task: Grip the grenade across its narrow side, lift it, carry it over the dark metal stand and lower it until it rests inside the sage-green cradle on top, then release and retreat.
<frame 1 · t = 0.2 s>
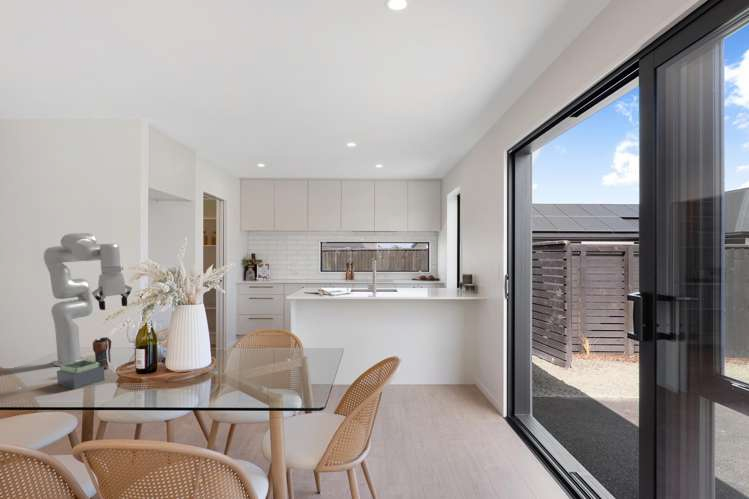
hand: (113, 307, 193), 30 cm above the table, tool pointing down, fingers open, 9 cm apart
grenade: (103, 369, 202), on the table
stand: (81, 382, 183), on the table
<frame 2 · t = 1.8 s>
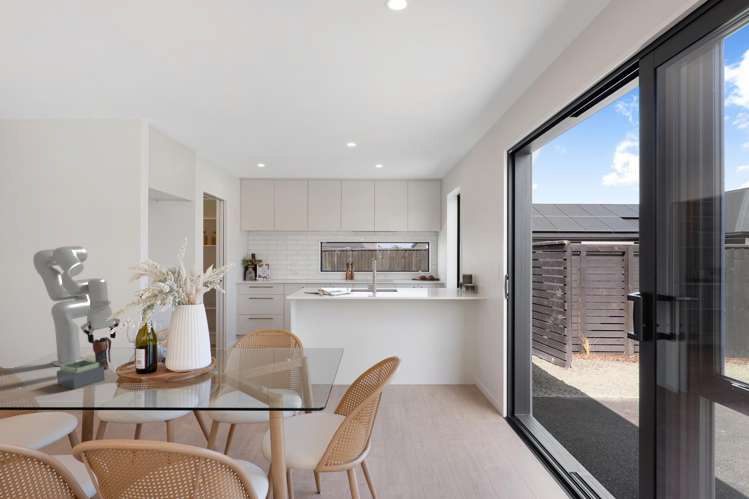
hand: (102, 340, 201), 14 cm above the table, tool pointing down, fingers open, 9 cm apart
nothing on the table moved.
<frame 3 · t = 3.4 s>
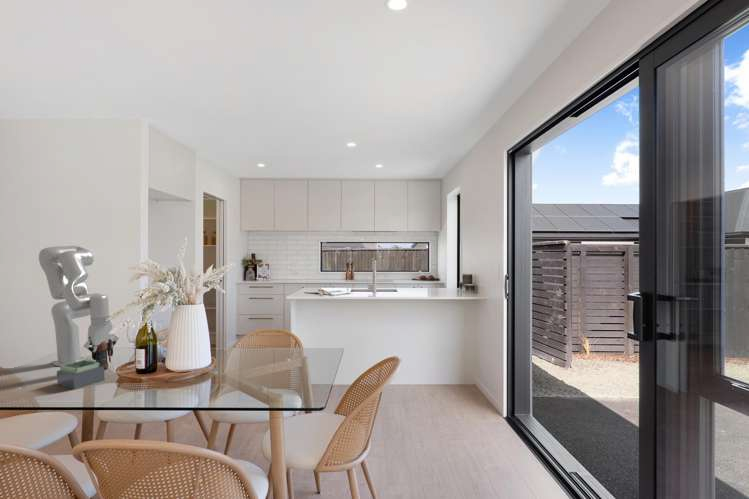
hand: (102, 357, 201), 6 cm above the table, tool pointing down, fingers closed on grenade, 6 cm apart
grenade: (103, 369, 202), on the table, touching gripper
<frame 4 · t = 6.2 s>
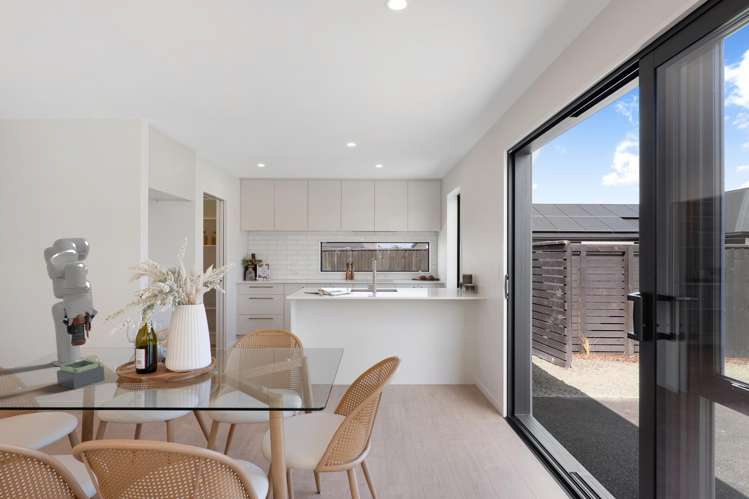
hand: (79, 332, 183), 22 cm above the table, tool pointing down, fingers closed on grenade, 6 cm apart
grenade: (80, 345, 184), point 16 cm above the table, touching gripper
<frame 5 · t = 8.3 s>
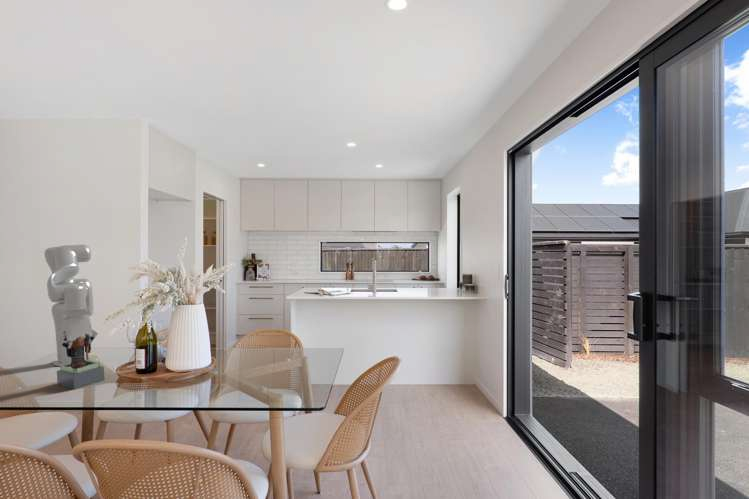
hand: (79, 354, 183), 12 cm above the table, tool pointing down, fingers closed on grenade, 6 cm apart
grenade: (80, 367, 183), point 7 cm above the table, touching gripper
when the fingers open (12 cm above the table, at t = 8.9 s): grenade stays where it is, resting on stand.
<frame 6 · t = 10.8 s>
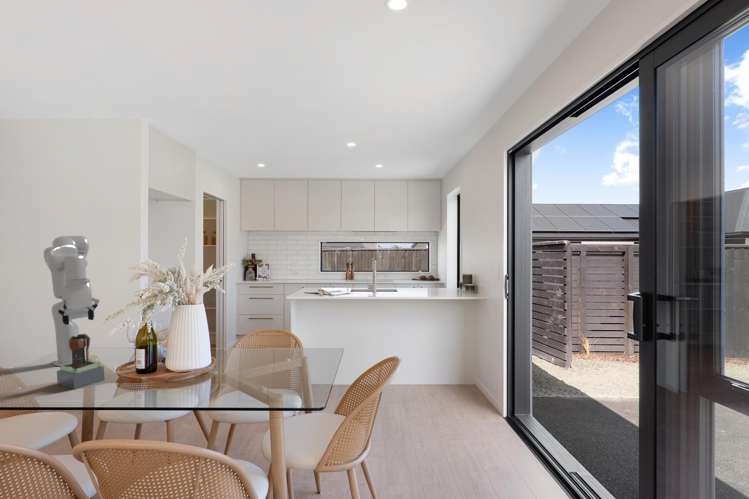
hand: (79, 321, 184), 26 cm above the table, tool pointing down, fingers open, 9 cm apart
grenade: (81, 369, 183), point 6 cm above the table, touching stand
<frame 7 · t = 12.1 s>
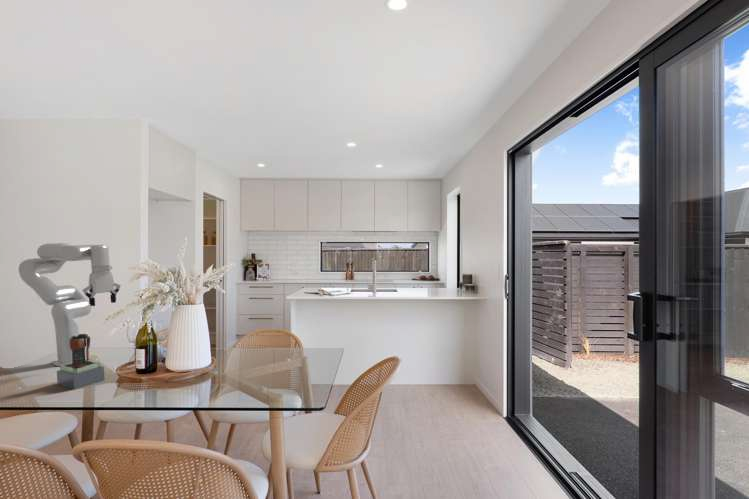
hand: (103, 304, 208), 30 cm above the table, tool pointing down, fingers open, 9 cm apart
nothing on the table moved.
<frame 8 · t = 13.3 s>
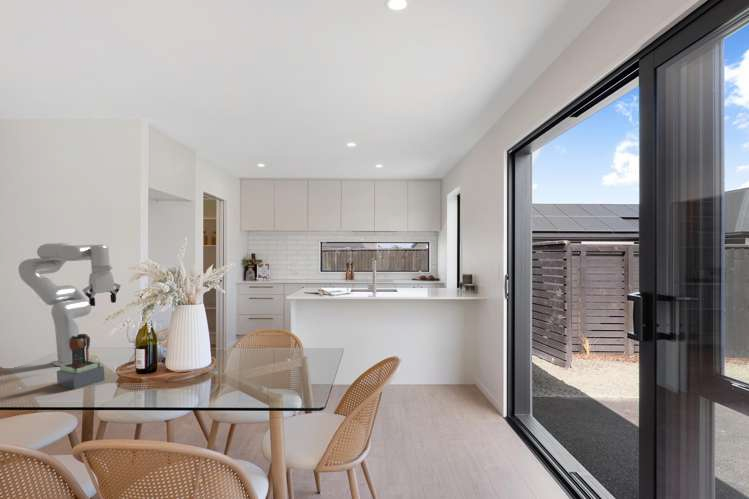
hand: (103, 304, 208), 30 cm above the table, tool pointing down, fingers open, 9 cm apart
nothing on the table moved.
at the end: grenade inside the target area on the stand (0.3 cm from its centre), point 5.8 cm above the stand's base; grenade tilted 1°; the gripper is holding nothing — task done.
